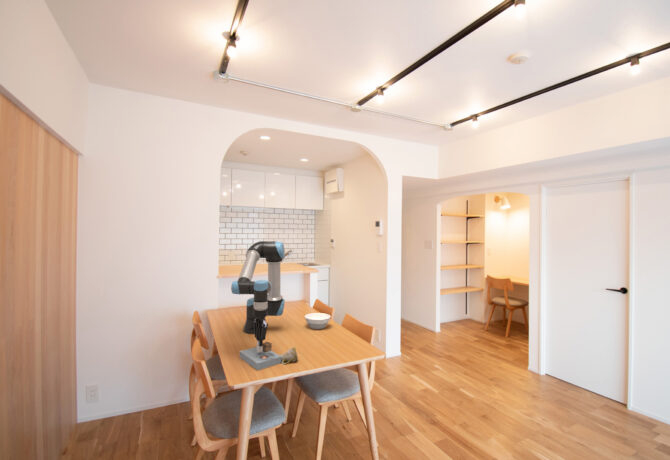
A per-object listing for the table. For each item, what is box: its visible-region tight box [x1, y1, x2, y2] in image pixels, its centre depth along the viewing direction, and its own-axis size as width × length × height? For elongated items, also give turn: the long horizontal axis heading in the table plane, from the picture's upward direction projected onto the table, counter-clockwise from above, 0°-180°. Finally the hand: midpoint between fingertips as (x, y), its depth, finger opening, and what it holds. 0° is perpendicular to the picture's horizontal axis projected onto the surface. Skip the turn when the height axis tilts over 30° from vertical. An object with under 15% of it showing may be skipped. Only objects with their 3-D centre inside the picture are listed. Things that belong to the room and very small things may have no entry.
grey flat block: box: [238, 346, 282, 371], centre depth 169 cm, size 21×14×4 cm, turn 42°
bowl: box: [304, 312, 332, 330], centre depth 230 cm, size 20×20×8 cm
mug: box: [280, 346, 299, 365], centre depth 168 cm, size 8×10×10 cm
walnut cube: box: [263, 341, 273, 352], centre depth 174 cm, size 4×4×4 cm
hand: (259, 351), depth 170 cm, fingers closed
